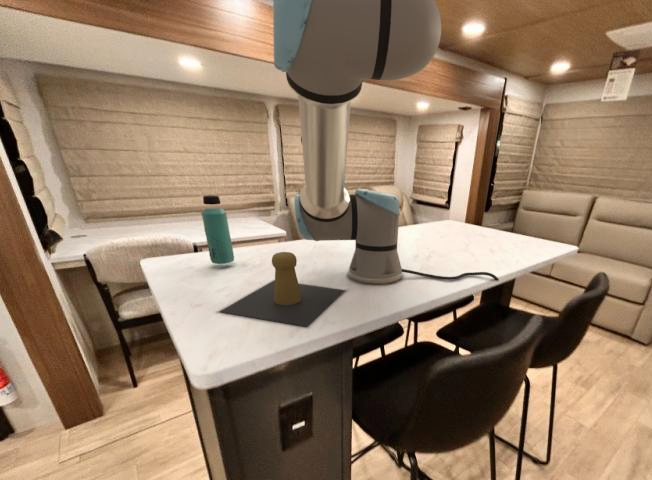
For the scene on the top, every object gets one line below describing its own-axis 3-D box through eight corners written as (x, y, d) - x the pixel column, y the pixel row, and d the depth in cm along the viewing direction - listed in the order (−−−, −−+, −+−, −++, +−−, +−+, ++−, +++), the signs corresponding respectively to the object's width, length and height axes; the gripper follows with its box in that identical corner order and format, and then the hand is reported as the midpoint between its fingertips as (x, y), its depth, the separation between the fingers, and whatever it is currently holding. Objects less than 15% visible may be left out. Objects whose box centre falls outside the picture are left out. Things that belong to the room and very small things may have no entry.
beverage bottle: (239, 263, 95) (229, 195, 87) (227, 270, 89) (215, 197, 81) (219, 261, 95) (207, 193, 87) (206, 268, 89) (191, 196, 81)
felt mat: (344, 290, 78) (344, 290, 78) (306, 327, 60) (306, 326, 60) (274, 281, 82) (274, 280, 82) (219, 312, 64) (219, 311, 64)
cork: (286, 307, 67) (282, 258, 63) (268, 300, 70) (262, 253, 66) (307, 298, 72) (304, 252, 67) (288, 292, 75) (284, 248, 70)
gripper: (326, 97, 95) (328, 171, 104) (282, 75, 73) (289, 172, 82) (349, 97, 94) (349, 172, 102) (311, 74, 71) (315, 173, 80)
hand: (323, 172), depth 92 cm, fingers open, 13 cm apart
